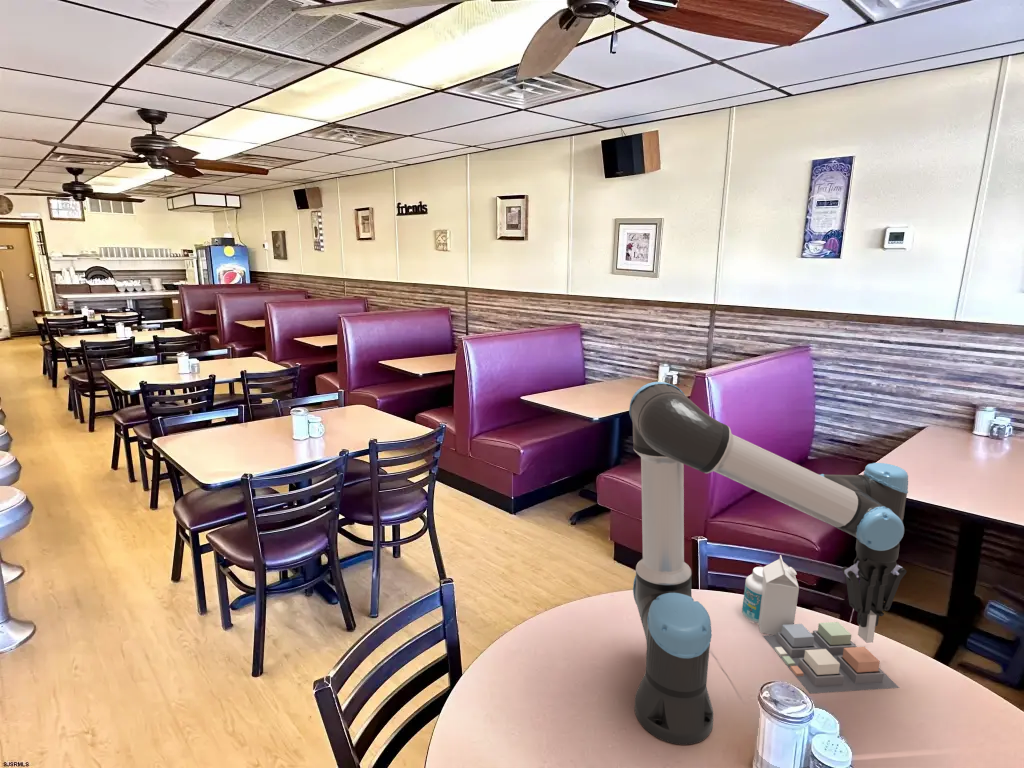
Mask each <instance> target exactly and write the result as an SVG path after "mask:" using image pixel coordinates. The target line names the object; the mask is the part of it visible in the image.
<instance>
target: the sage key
mask: <svg viewBox="0 0 1024 768" xmlns="http://www.w3.org/2000/svg"><path fill="white" fill-rule="evenodd" d="M817 625H818V626H817V630H818V633H819V634H820V635H821V636H822V637H823V638H824V639H825V640H826V641H827V642H828V643H829V644H830V645H841V644H850V642H851V641H852V634H851V633H850V632H849V631H848V630H847V629H846V628H845V627H844V626H843V625H842V624H841V623H840V622H839V621H833V622H832V621H830V622H829V621H828V622H818V624H817Z"/></svg>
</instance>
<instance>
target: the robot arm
mask: <svg viewBox="0 0 1024 768" xmlns="http://www.w3.org/2000/svg"><path fill="white" fill-rule="evenodd" d="M628 410H629V411H628V413H629V416H630V419H631V422H632V440H633V441H632V443H633V444H632V445H633V451H634V452H635V453H636V454H637V455H638V456H639V457H640V470H641V471H640V473H641V475H640V477H641V478H640V479H641V481H640V482H641V484H640V485H641V525H642V526H641V530H642V531H641V533H642V537H641V538H642V540H641V541H642V558H641V559H640V560H639V561H638V562H637V564H636V565H635V576H634V579H633V584H632V585H633V586H632V593H633V598H634V601H635V604H636V608H637V610H638V613H639V614H638V615H639V618H640V621H641V624H642V628H643V632H644V636H645V639H646V654H645V655H646V656H645V658H646V659H645V673H644V675H643V677H642V679H641V681H640V683H639V686H638V688H637V690H636V692H635V695H634V712H635V717H636V718H637V720H638V722H639V724H640V725H641V726H642V728H644V729H645V730H646V731H647V732H648V733H650V734H651V735H653V736H654V737H655V738H657V739H659V740H661V741H663V742H667V743H670V744H675V745H685V746H686V745H693V744H696V743H699V742H702V741H704V740H705V739H707V738H708V736H709V735H710V734H711V733H712V730H713V726H714V709H713V705H712V702H711V698H710V694H709V690H708V687H707V682H708V681H707V680H708V670H709V661H710V660H709V658H710V647H711V641H712V636H713V634H712V622H711V618H710V615H709V614H710V613H709V612H708V610H707V609H706V608H705V606H703V604H702V603H700V601H698V600H694V597H692V568H691V567H690V566H689V564H688V563H686V562H685V537H684V536H685V526H684V525H685V523H684V522H685V521H684V520H685V517H684V515H685V514H684V513H685V508H684V507H685V504H684V503H685V501H684V500H685V498H684V497H685V496H684V495H685V494H684V493H685V491H684V490H685V488H684V487H685V486H684V485H685V484H684V483H685V482H684V481H685V479H684V478H685V477H684V475H685V472H684V470H685V467H684V465H685V466H688V467H690V468H692V469H695V470H697V471H699V472H701V473H704V474H710V473H712V472H714V473H717V474H719V475H721V476H723V477H726V478H728V479H730V480H732V481H734V482H737V483H739V484H740V485H743V486H745V487H747V488H749V489H752V490H754V491H756V492H758V493H760V494H762V495H765V496H767V497H769V498H771V499H774V500H776V501H778V502H780V503H783V504H784V505H786V506H789V507H790V508H793V509H795V510H797V511H800V512H802V513H804V514H806V515H808V516H811V517H812V518H815V519H817V520H819V521H821V522H824V523H826V524H828V525H829V526H833V528H834V527H835V528H836V529H838V530H841V531H842V532H845V533H846V534H849V535H851V536H853V537H854V538H856V539H855V540H856V541H855V542H856V543H855V551H856V552H855V553H856V557H855V558H854V560H853V565H851V566H849V567H847V566H843V567H842V568H841V571H842V573H843V575H844V576H845V580H846V581H845V582H846V587H847V595H848V596H847V597H848V604H849V606H850V607H851V608H852V609H853V610H854V611H855V612H857V618H856V623H857V624H858V631H857V636H858V637H859V638H861V640H863V641H864V642H865V643H866V644H868V643H874V637H875V631H876V630H875V629H876V627H877V626H878V625H879V620H880V619H879V618H880V617H883V616H884V615H885V613H884V612H883V611H886V612H888V611H889V610H890V609H891V606H892V604H893V601H894V599H895V596H896V593H897V591H898V589H899V586H900V583H901V580H902V579H903V578H904V576H905V575H906V574H907V570H906V568H904V567H903V566H901V565H899V564H898V563H897V561H898V560H899V552H900V547H901V545H900V542H901V541H902V539H903V537H904V534H905V526H904V516H905V508H906V502H907V496H908V493H909V475H908V472H907V471H906V470H905V469H904V468H902V467H900V466H898V465H895V464H890V463H884V462H872V463H868V464H867V465H866V466H865V468H864V471H863V474H824V473H821V474H819V473H816V472H814V471H812V470H811V469H808V468H806V467H803V466H801V465H800V464H797V463H795V462H792V461H791V460H788V459H786V458H784V457H782V456H780V455H778V454H777V453H773V452H772V451H769V450H767V449H765V448H762V447H760V446H759V445H756V444H754V443H753V442H750V441H748V440H746V439H744V438H742V437H739V436H737V435H735V434H733V433H732V430H731V427H730V426H728V425H727V424H725V423H722V422H721V421H719V420H717V419H715V418H714V417H712V416H710V415H709V414H708V413H706V412H705V411H703V410H702V409H701V408H700V407H699V406H698V405H696V403H694V402H693V400H692V399H690V398H689V397H687V396H686V394H685V393H684V392H683V391H682V389H681V388H679V387H677V386H676V385H674V384H671V383H668V382H665V381H653V382H649V383H646V384H644V385H642V386H641V387H640V388H639V389H637V390H636V391H635V392H634V394H633V395H632V397H631V399H630V402H629V409H628Z"/></svg>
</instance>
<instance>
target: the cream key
mask: <svg viewBox="0 0 1024 768" xmlns="http://www.w3.org/2000/svg"><path fill="white" fill-rule="evenodd" d="M804 660H805V661H806V663H807V664H808V665H809V666H810V667H811V668H812V670H813V671H814V672H815V673H816V674H817V675H825V674H839V667H840V663H839V662H838V661H837V660H836V659H835V658H834V657H833V656H832V655H831V654H830V653H829V652H828V651H827V650H826V649H815V650H805V655H804Z"/></svg>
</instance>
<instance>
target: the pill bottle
mask: <svg viewBox="0 0 1024 768" xmlns="http://www.w3.org/2000/svg"><path fill="white" fill-rule="evenodd" d="M763 567H764V566H756V567H754V568H753V569H752V573H751V574H750V575H749V574H748V576H747V577H746V578H745V584H744V592H743V598H742V600H743V601H742V608H741V614H742V616H743V617H744V618H745V619H746V620H748V621H749V622H752V623H754V624H755V623H756V624H758V623H759V615H760V607H761V599H762V591H763V586H762V582H763Z"/></svg>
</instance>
